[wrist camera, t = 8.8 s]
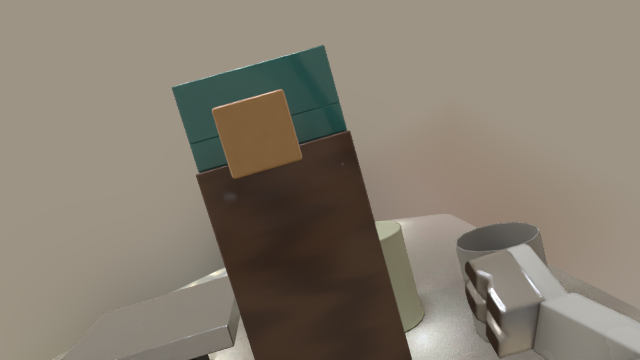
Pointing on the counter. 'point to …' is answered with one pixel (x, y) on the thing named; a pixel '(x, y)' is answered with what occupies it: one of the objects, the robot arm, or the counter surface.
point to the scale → (165, 327)
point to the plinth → (306, 257)
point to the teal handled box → (260, 112)
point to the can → (400, 273)
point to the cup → (496, 247)
